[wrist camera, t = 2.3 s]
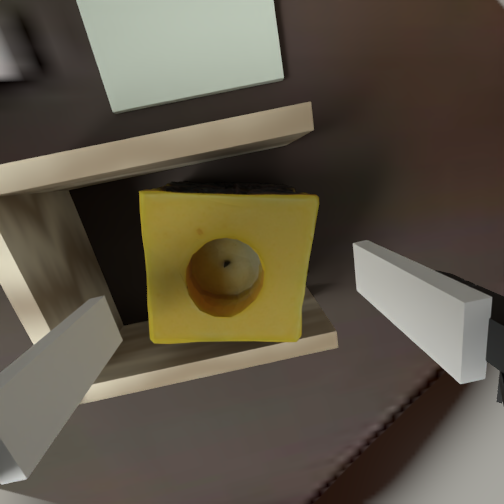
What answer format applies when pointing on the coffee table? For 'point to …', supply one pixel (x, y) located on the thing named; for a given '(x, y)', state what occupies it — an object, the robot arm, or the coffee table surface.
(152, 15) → the felt mat
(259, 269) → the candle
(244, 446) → the coffee table surface
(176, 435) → the coffee table surface
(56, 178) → the wooden u-shaped frame
